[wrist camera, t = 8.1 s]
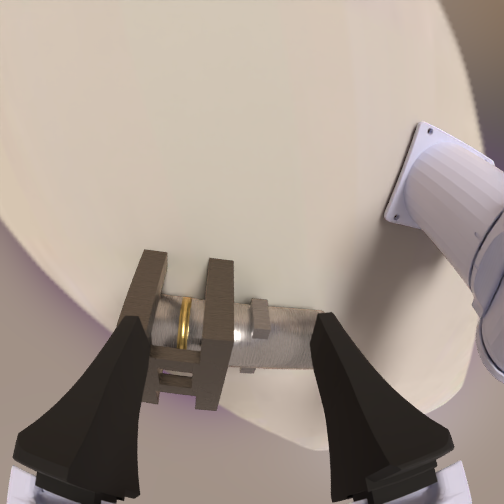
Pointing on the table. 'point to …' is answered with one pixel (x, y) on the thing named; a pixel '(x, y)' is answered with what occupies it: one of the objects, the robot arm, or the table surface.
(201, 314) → the grey metal cylinder
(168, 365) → the brown bracket plates
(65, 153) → the table surface
